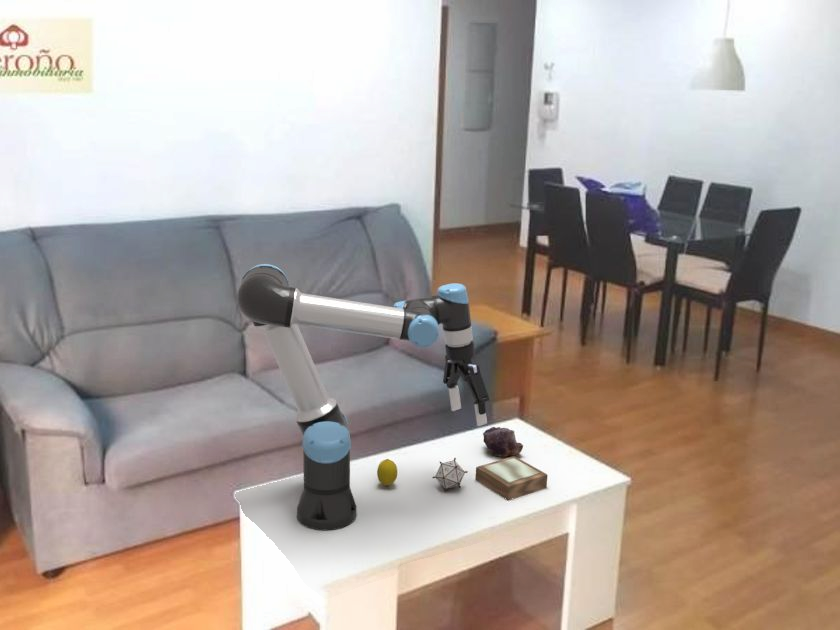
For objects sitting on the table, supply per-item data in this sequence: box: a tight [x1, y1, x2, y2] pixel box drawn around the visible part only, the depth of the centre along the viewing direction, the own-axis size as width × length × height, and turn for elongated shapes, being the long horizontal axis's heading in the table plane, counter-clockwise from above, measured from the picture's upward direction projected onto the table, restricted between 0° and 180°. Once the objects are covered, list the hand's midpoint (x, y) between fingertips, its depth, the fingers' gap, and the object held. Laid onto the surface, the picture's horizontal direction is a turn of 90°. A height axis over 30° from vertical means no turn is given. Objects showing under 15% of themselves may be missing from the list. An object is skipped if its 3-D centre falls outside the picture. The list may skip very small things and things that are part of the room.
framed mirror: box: [475, 455, 548, 501], centre depth 240 cm, size 14×14×4 cm
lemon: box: [376, 458, 398, 487], centre depth 236 cm, size 6×6×8 cm
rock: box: [482, 426, 524, 458], centre depth 258 cm, size 12×9×10 cm
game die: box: [432, 457, 469, 493], centre depth 236 cm, size 9×8×10 cm
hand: (468, 416), depth 232 cm, fingers open, 13 cm apart
